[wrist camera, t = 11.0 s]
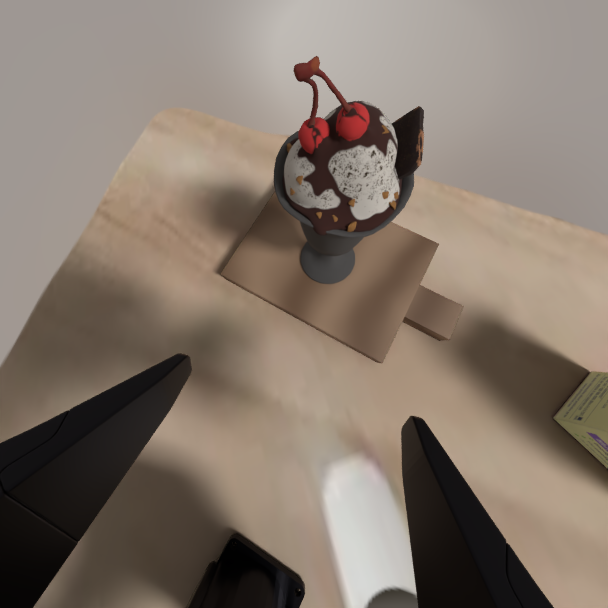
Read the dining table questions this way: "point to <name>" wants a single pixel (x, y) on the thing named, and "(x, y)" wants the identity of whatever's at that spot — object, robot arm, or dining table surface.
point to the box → (588, 415)
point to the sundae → (345, 176)
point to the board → (345, 283)
